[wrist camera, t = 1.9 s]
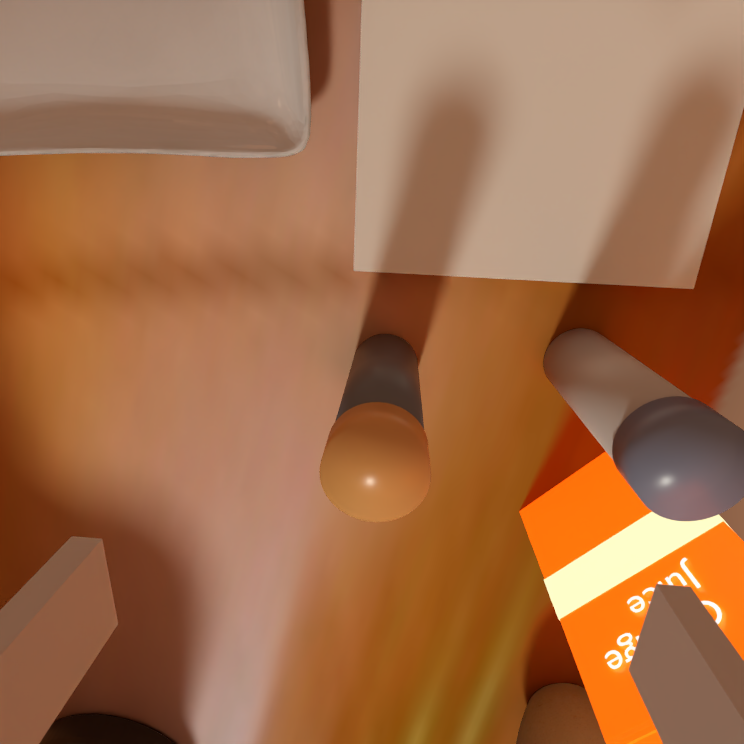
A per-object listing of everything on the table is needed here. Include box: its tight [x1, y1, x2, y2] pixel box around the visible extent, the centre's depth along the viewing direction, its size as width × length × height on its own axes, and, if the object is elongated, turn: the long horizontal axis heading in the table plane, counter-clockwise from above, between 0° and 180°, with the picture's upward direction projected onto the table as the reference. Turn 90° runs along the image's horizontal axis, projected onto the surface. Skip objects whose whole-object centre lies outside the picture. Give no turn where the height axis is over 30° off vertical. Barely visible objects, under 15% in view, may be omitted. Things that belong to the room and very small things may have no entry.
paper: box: [354, 0, 744, 289], centre depth 24 cm, size 18×13×1 cm
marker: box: [320, 334, 431, 522], centre depth 23 cm, size 4×4×12 cm
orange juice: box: [519, 452, 744, 744], centre depth 22 cm, size 8×9×20 cm
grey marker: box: [543, 328, 744, 521], centre depth 22 cm, size 4×4×12 cm
